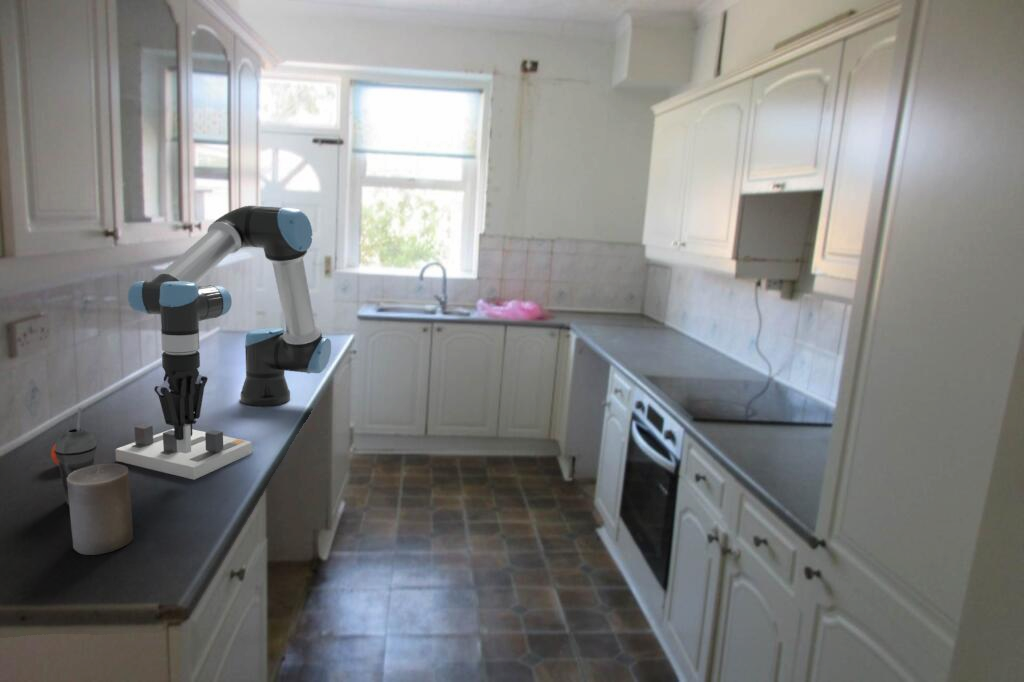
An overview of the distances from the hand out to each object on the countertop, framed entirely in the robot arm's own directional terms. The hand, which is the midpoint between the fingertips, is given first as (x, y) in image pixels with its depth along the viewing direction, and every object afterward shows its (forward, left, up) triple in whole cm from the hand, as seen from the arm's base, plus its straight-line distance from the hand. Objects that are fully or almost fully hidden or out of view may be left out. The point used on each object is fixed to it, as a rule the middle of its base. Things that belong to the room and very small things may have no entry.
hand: (184, 451), depth 150 cm
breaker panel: (-9, -9, -6) cm, 14 cm away
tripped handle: (-9, 0, -3) cm, 10 cm away
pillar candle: (+29, +10, -6) cm, 31 cm away
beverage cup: (+19, -9, -6) cm, 22 cm away
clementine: (+7, -27, -6) cm, 29 cm away
